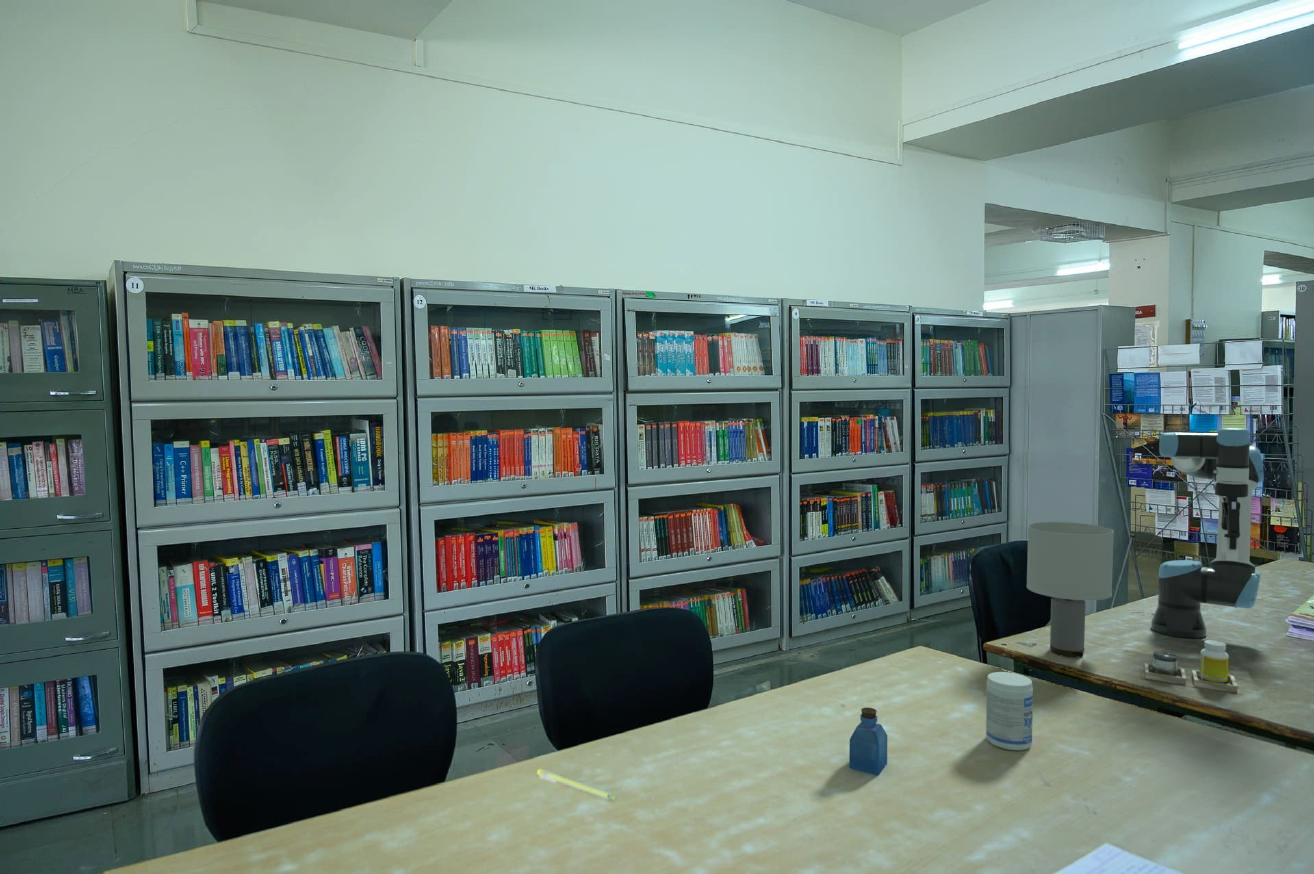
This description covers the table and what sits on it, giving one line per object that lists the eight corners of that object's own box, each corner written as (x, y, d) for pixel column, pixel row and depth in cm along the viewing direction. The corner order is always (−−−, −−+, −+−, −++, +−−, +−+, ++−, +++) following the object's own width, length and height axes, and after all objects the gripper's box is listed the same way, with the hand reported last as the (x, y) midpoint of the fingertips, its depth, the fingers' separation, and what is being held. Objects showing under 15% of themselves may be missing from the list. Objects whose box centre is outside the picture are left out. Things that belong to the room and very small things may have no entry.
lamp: (1066, 637, 253) (1068, 520, 251) (1128, 660, 231) (1132, 532, 229) (1008, 645, 246) (1010, 524, 244) (1067, 669, 224) (1071, 536, 222)
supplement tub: (1035, 754, 171) (1036, 688, 170) (987, 749, 174) (989, 683, 173) (1028, 736, 180) (1029, 673, 179) (983, 731, 183) (984, 669, 182)
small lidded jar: (1152, 671, 219) (1152, 650, 218) (1176, 674, 216) (1177, 653, 215) (1152, 677, 214) (1153, 655, 213) (1177, 681, 211) (1178, 659, 210)
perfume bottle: (878, 775, 162) (879, 718, 161) (849, 768, 165) (849, 712, 165) (887, 763, 167) (887, 708, 167) (858, 756, 171) (859, 702, 170)
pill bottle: (1233, 688, 206) (1235, 646, 205) (1209, 688, 206) (1211, 646, 205) (1216, 679, 212) (1218, 639, 211) (1193, 679, 212) (1195, 638, 211)
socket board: (1140, 670, 222) (1140, 661, 222) (1236, 685, 211) (1237, 675, 211) (1141, 683, 213) (1141, 673, 213) (1241, 699, 201) (1242, 688, 201)
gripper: (1211, 477, 236) (1209, 547, 237) (1219, 486, 215) (1217, 563, 216) (1242, 479, 232) (1240, 550, 233) (1254, 487, 211) (1251, 565, 212)
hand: (1229, 556), depth 225 cm, fingers open, 13 cm apart
